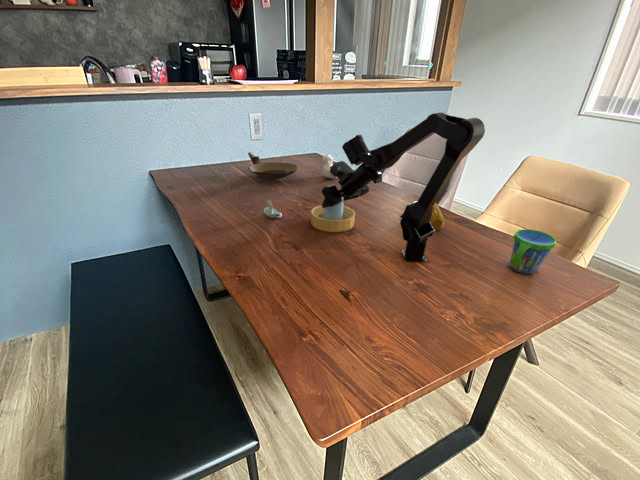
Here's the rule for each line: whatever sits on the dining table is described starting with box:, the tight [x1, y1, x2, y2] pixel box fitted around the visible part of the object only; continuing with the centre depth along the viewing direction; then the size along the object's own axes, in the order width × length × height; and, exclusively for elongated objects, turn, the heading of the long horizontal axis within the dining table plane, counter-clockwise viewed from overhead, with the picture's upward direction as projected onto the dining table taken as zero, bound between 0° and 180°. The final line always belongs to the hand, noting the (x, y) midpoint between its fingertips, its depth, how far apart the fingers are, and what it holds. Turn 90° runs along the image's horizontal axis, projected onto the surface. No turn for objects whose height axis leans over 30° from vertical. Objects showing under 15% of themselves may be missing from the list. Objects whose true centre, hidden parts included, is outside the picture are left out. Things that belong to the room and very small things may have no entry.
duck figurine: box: [322, 153, 338, 180], centre depth 170 cm, size 12×8×11 cm
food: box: [430, 202, 445, 231], centre depth 133 cm, size 21×6×6 cm, turn 174°
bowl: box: [310, 204, 356, 233], centre depth 127 cm, size 15×15×4 cm
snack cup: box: [509, 228, 557, 275], centre depth 105 cm, size 16×10×10 cm
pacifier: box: [263, 199, 283, 219], centre depth 131 cm, size 7×6×6 cm
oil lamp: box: [247, 151, 299, 180], centre depth 170 cm, size 22×30×8 cm
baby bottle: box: [323, 196, 345, 220], centre depth 124 cm, size 7×7×12 cm
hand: (331, 203), depth 125 cm, fingers open, 9 cm apart
